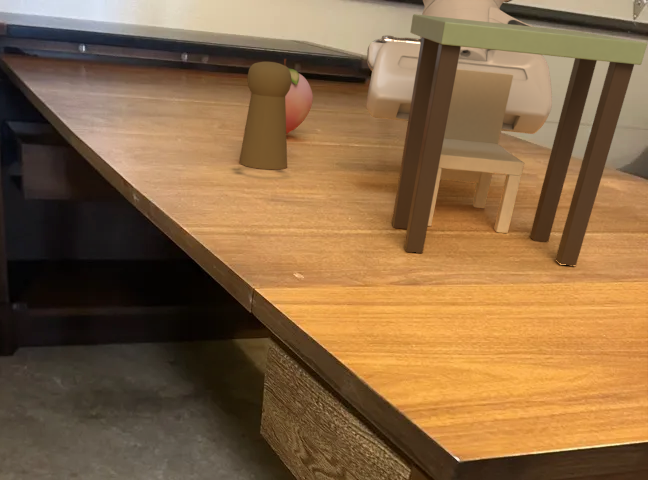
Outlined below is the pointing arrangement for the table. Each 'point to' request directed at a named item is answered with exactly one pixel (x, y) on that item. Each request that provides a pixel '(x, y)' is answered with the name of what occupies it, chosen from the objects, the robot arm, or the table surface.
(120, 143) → the table surface
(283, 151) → the cork
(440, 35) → the side table
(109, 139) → the table surface
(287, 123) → the decorative fruit
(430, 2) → the robot arm
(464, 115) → the chair
